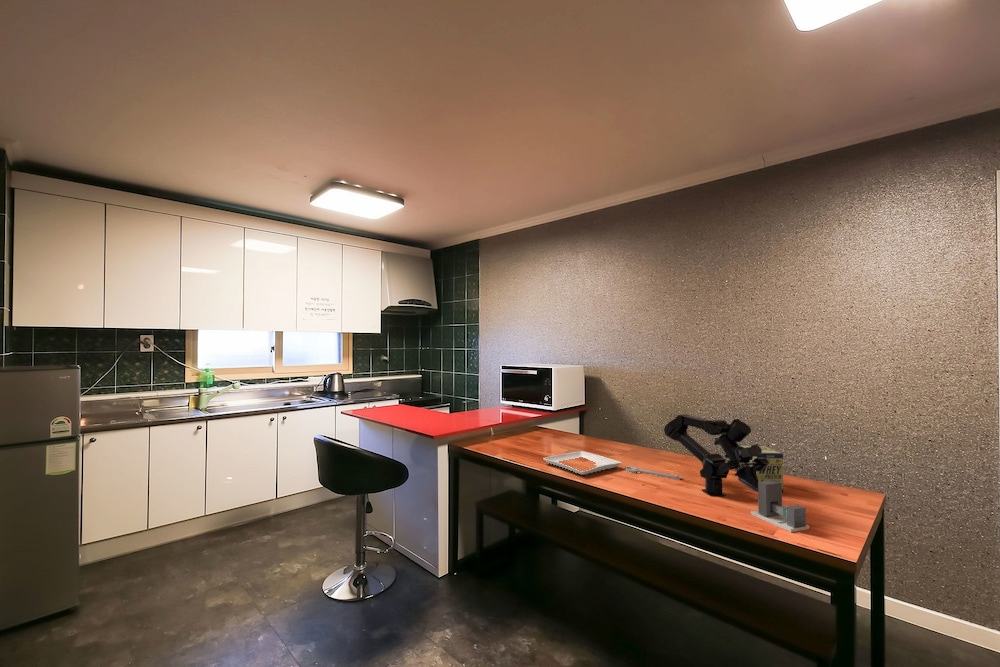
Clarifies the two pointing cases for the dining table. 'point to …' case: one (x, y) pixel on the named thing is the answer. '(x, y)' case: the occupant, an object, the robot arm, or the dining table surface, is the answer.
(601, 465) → the square plate
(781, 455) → the protein box
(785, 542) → the dining table surface
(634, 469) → the adjustable wrench
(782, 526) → the white board
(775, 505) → the grey block cluster
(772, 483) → the tall gray block
